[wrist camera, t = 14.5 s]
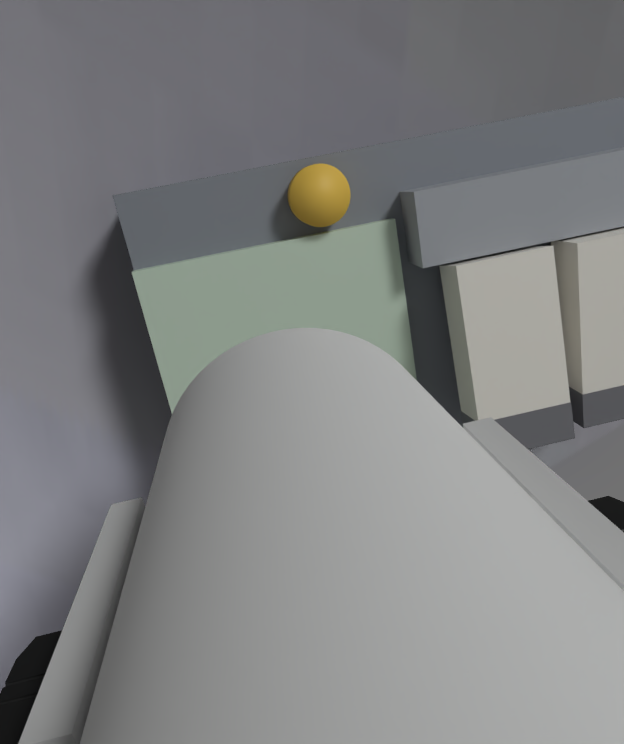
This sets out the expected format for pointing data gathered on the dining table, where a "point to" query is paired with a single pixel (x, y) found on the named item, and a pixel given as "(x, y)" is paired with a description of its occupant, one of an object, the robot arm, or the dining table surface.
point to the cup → (349, 573)
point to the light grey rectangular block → (510, 343)
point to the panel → (392, 247)
